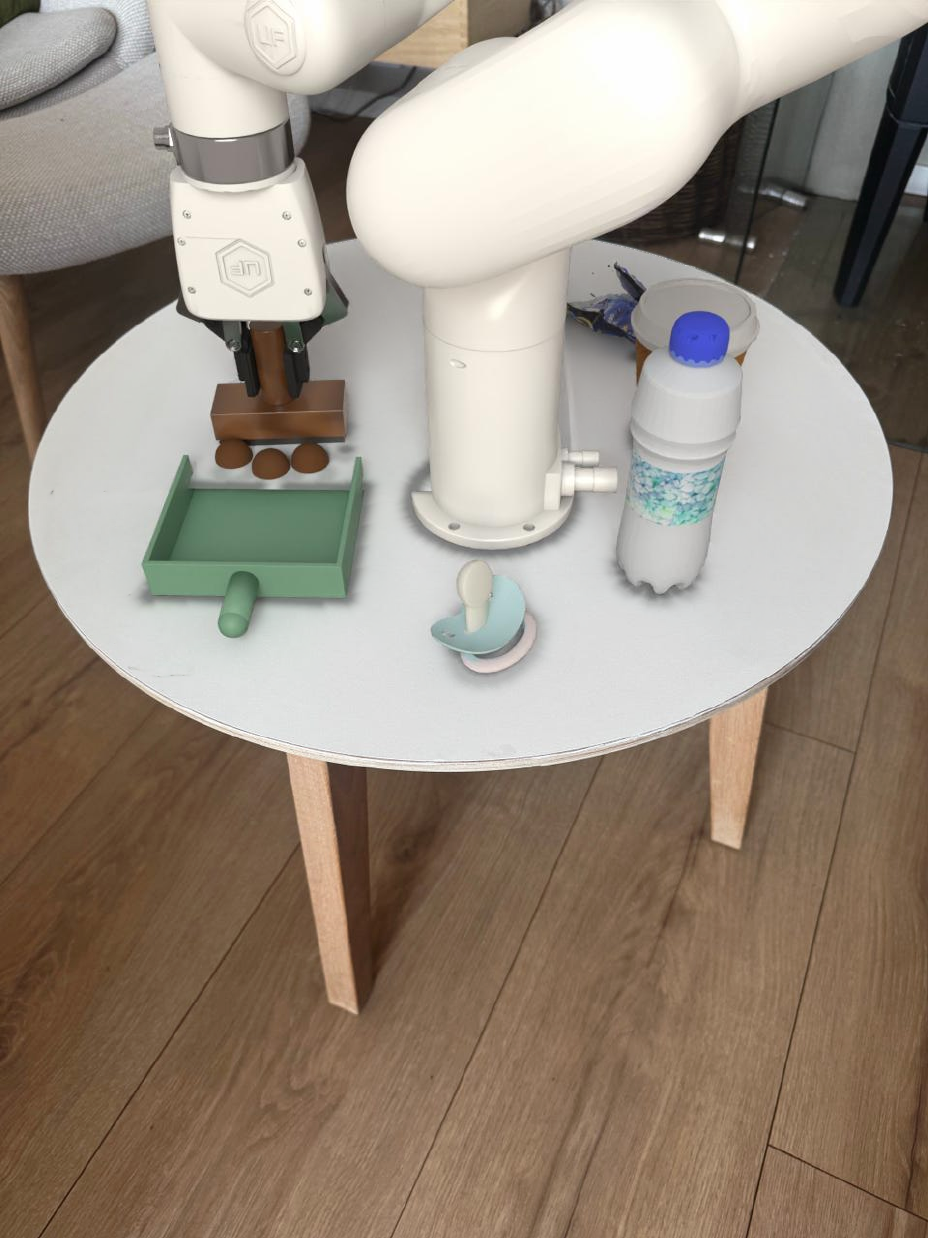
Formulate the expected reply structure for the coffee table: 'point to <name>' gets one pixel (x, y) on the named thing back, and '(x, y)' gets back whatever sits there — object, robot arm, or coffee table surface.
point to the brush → (278, 401)
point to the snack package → (611, 308)
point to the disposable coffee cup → (686, 296)
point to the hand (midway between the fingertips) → (276, 386)
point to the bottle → (678, 452)
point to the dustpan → (253, 544)
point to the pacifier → (487, 619)
